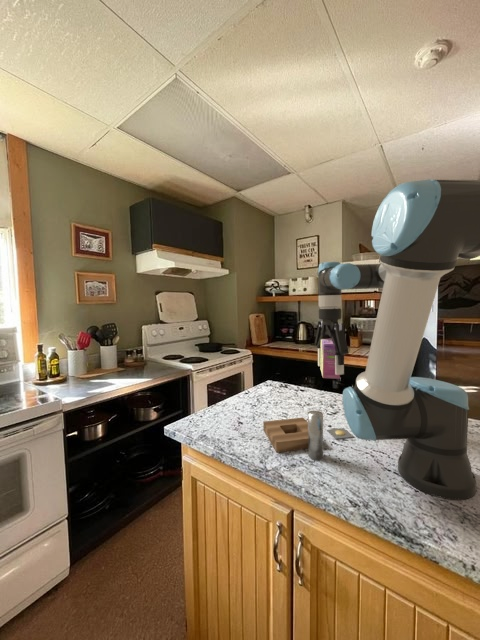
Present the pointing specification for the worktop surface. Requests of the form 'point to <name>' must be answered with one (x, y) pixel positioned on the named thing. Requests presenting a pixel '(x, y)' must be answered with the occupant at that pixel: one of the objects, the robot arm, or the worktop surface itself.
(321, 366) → the box
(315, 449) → the peg
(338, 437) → the marker tile
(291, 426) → the board
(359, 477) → the worktop surface
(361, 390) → the robot arm
